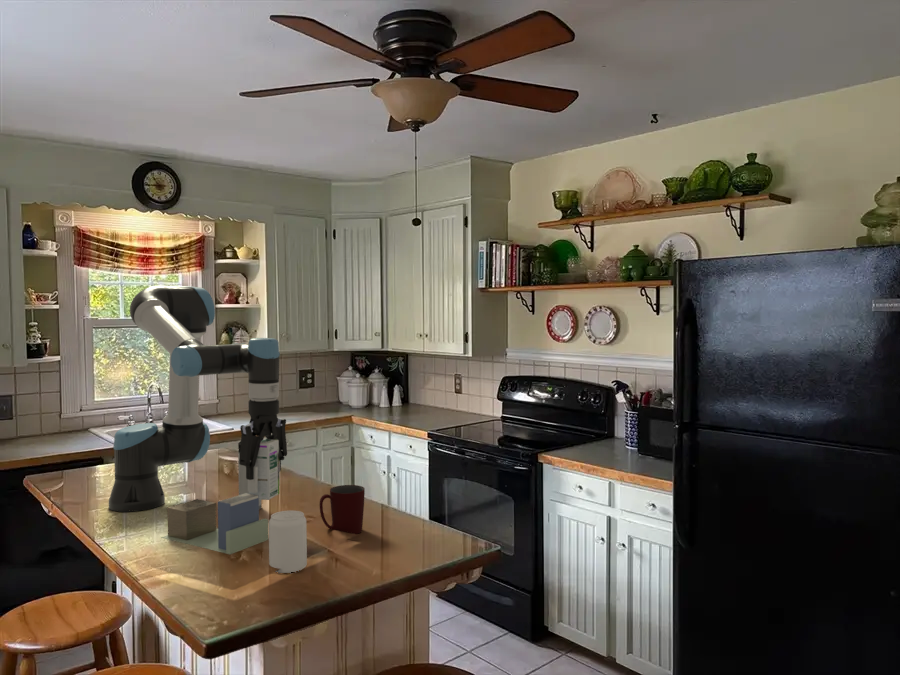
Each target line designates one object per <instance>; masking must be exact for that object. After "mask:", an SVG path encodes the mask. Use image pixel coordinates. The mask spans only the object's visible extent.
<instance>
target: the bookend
mask: <svg viewBox="0 0 900 675" xmlns="http://www.w3.org/2000/svg"><path fill="white" fill-rule="evenodd" d="M166 510H167V535H168V536H171V537H176V538H180V539H184V540H189V539H192V538H195V537H198V536H201V535H204V534H207V533H210V532H213V531H216V528H217V503H216V502H214V501H209V500H203V499H192V500H189V501H185V502H182V503H178V504H175V505H171V506H169V507H167V508H166Z"/></svg>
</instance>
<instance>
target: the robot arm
mask: <svg viewBox="0 0 900 675" xmlns="http://www.w3.org/2000/svg"><path fill="white" fill-rule="evenodd" d="M215 309H216V308H215V303H214V300H213V297H212V296H211V293H210V292H209V291H208V290H207V289H205V288H203V287H199V286H198V287H197V286H184V285H183V286H181V285H180V286H178V285H177V286H169V285H167V286H166V285H165V286H163V285H162V286H161V285H154V286H148V287H146V288H144V289H142V290H141V291H139V292H138V293H137V294H136V295H135V296H134V297H133V299H132V300H131V302H130V307H129V315H130V318H131V320H132V321H133V323H134V325H136V326H137V327H138V328H139V329H140V330H142V331H144V332H148V333H149V335H151V336H152V337H153V338H154V339H155V340H156V341H157V342H158V343H159V344H160V345H161V346H162V347H163V348H164V349H165V350H166V351H167V352H168V353H169V377H168V378H169V379H168V405H167V408H168V409H167V414H166V415H165V416H164V417H163V418H162V426H158V425H157V424H156V423H155V422H154V423H153V422H146V423H137V424H133V425H129V426H125V427H122V428H121V429H119V430H117V431H116V432H115V434H114V437H113V438H114V439H113V446H112V448H113V453H114V454H113V455H114V456H113V457H114V459H113V460H114V461H113V462H114V482H113V485H112V489H111V492H110V496H109V499H108V509H109V510H111V511H114V512H140V511H147V510H150V509H155V508H158V507H160V506H163V505H164V504H165V501H166V499H165V493H164V490H163V486H162V484H161V482H160V479H159V473H158V471H159V470H158V469H159V467H164V466H170V465H178V464H184V463H187V464H188V463H191V462H194V461H200V460H201V459H203V458H204V457H205V456H206V455H207V453H208V450H209V448H210V442H211V433H210V428H209V426H208V425H207V423H205V422H204V418H203V417H202V416H201V415H200V414H199V400H200V398H199V397H200V395H199V394H200V392H199V391H200V376H209V375H212V376H213V375H224V374H225V375H227V374H241V373H242V374H243V373H244V374H248V398H249V399H250V400H248V414H249V416H250V420H249V423H247V424H246V425H243V424H242V425H240V427H239V429H240V434H241V436H240V437H241V439H240V442H241V447H240V458H239V464H240V465H244V466H246V479H248V491H249V492H253V493H257V492H258V467H257V466H255V463H256V460H257V456H258V452H259V448H260V442H261V441H262V440H263V438H267V439H272V440H275V439H278V440H279V487H280V485H281V484H280V481H281V479H280V478H281V476H280V472H281V471H282V461H284V460H285V457H287V456H288V447H287V435H286V424H287V420H286V418H279V417H278V414H279V413H280V400H279V399H278V398H279V396H280V393H279V392H280V353H281V352H280V348H279V347H280V346H279V345H280V344H279V343H280V342H279V341H278V339H277V338H274V337H255V338H250V339H249V340H248V344H247V343H244V342H239V343H238V342H236V343H231V344H203V343H202V340H201V339H202V337H203V336H204V335H205V334H206V333H207V326H208V327H209V326H210V325H212V324H213V323H214V320H215V316H216V315H215V314H216V310H215ZM250 460H251V462H250Z"/></svg>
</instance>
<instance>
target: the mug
mask: <svg viewBox="0 0 900 675" xmlns="http://www.w3.org/2000/svg"><path fill="white" fill-rule="evenodd" d="M365 492H366V491H365V487H364V486H361V485H358V484H357V485H356V484H344V485H337V486H336V485H335V486H334V487H331V488H329V494H323V495H322V496H321V497H320V499H319V512H320V517H321V520H322V521H323V523H324V525H325V526H326V527H327V529H329V530H332V531H339V532H343V533H347V534H348V533H349V534H354V535H358V534H361V533H362V532H361V531H363V522H364V509H365V494H366V493H365ZM325 499H330V500H329V502H330V511H331V512H330V514H331V521H332V522H331V525H330V524H329V523H328V522H327V519H326V518H325V513H324V508H323V506H324V505H323V504H324V501H325Z"/></svg>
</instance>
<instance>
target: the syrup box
mask: <svg viewBox="0 0 900 675" xmlns="http://www.w3.org/2000/svg"><path fill="white" fill-rule="evenodd" d="M250 462H251V460H250ZM255 466H257V467H258V492H257V493H253V492H249V494H255V495H259V499H261V501H262V500H265V501H270V500H271V499H272V498H275V497H277V496H279V494H280V486H279V440H278V439H275V440H272V439H267V438H266V437H264V438H263V440H262V441H261V442H260V448H259V452H258V456H257V460H256V463H255Z"/></svg>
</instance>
